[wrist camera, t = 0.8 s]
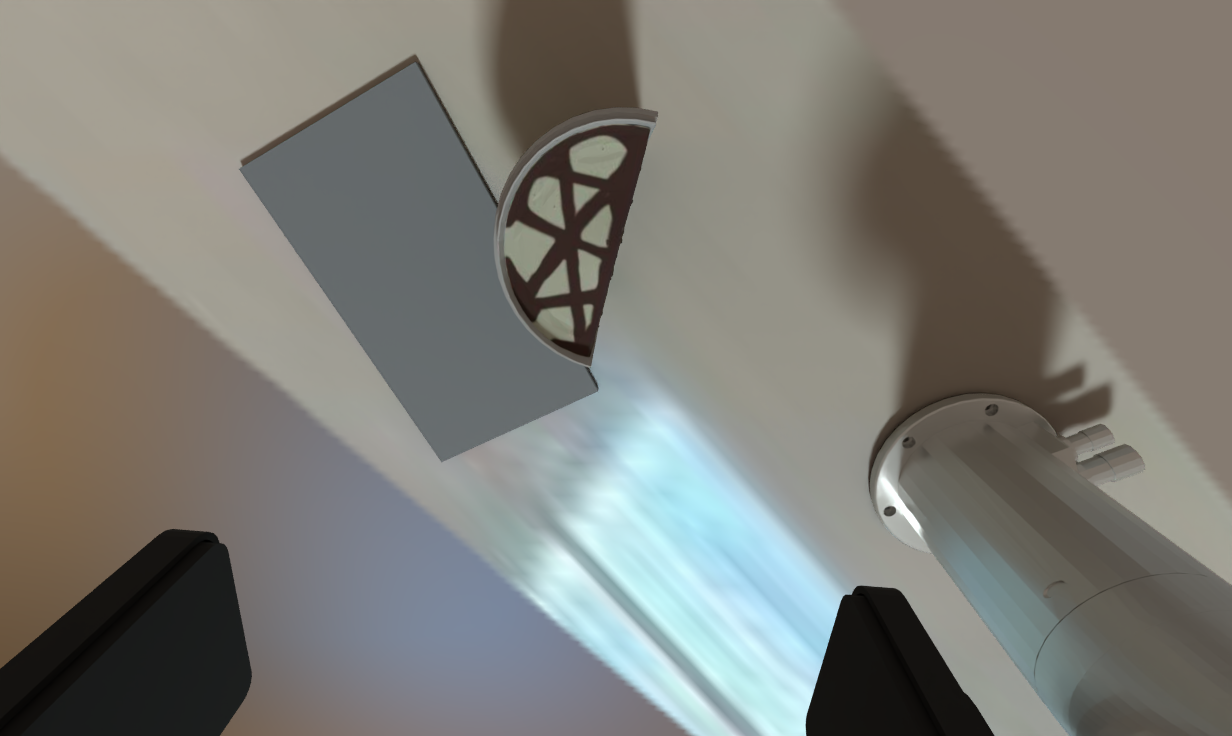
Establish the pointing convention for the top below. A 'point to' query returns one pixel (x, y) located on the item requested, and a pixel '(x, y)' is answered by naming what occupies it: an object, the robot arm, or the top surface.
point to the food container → (569, 224)
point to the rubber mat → (414, 263)
